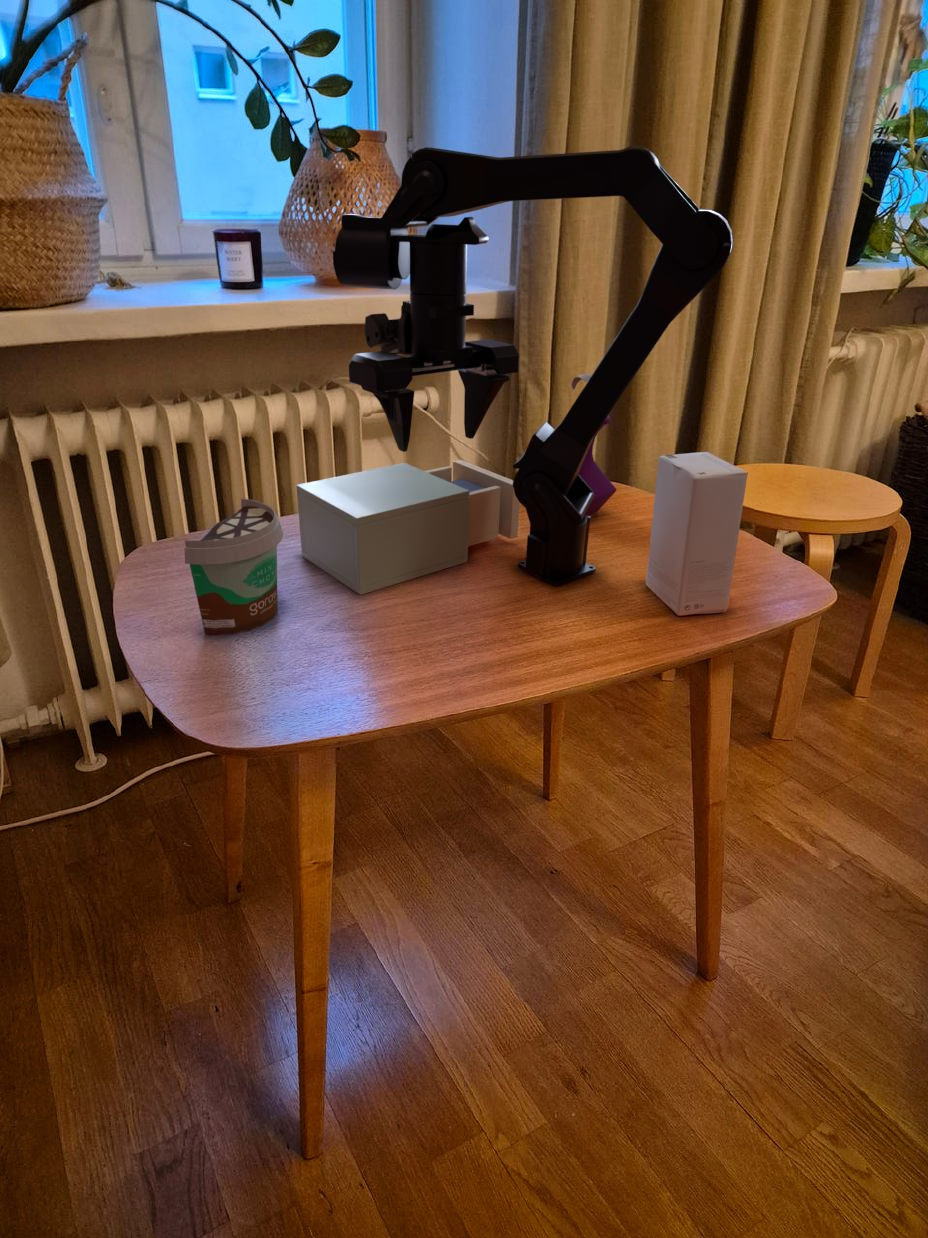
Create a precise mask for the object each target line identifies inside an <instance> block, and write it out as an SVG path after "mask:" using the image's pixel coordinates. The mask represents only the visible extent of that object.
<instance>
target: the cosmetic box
mask: <svg viewBox="0 0 928 1238" xmlns="http://www.w3.org/2000/svg"><path fill="white" fill-rule="evenodd" d="M748 476H749V472H748V471H746V470H744V469H742V468H740V467H738V466H736V465H734V464H731V463H730V462H729V461H726V460H724V459H722V458H720V457H718V456H716V455H714V454H712V453H710V452H709V451H700V452H689V453H677V454H676V453H675V454H666V455H665V454H664V455H660V456H658V462H657V471H656V479H655V480H656V481H655V490H654V500H653V508H652V509H653V511H652V519H651V529H650V530H651V531H650V539H649V550H648V558H647V569H646V577H645V586H646V587H647V588H648V589H650V591H651V592H653V593H654V595H656V596H657V597H658V598H659V599H660V600H661V602H663V603H664V604H665V605H666V606H667V607H668V608H670V610H672V611H673V612H674V613H675V614H676V616H680V617H681V616H688V615H699V614H701V615H702V614H717V613H726V612H727V610H728V607H729V602H730V594H731V587H732V581H733V575H734V568H735V561H736V555H737V549H738V548H737V547H738V542H739V536H740V535H739V534H740V528H741V523H742V521H741V520H742V515H743V507H744V500H745V495H746V494H745V493H746V488H747V480H748Z"/></svg>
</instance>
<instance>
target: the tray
mask: <svg viewBox="0 0 928 1238" xmlns="http://www.w3.org/2000/svg"><path fill="white" fill-rule="evenodd" d="M424 471H425V472H427V473H429V474H432V475H434V476H436V477H439V478H441V479H443V480H445V481H448V482H452V481H456V480H461V479H464V480H466V481H469V482H471V483H474V484H476V485H478V486H481V487H483V488H485V489H481V490H477V491H473V492H469V526H468V547H471V546H474V545H477V544H482V543H483V542H488V541H491V540H495V539H498V538H499V535H501V536H503V537H505V538H507V539H509V540H512V539H516V538H518V536H519V535H518V534H519V519H520V504H521V503H520V502H519V501H518V499H517V497H516V496H515V492H514V488H513V479H511V478H509V477H506V476H503V475H501V474H498V473H495V472H492V471H490V470H488V469H485V468H483V467H480V466H477V465H475V464H472V463H470V462H467V461H465V460H462V459H457V460H453V461H452V466H449V465H445V466H443V467H438V468H433V469H428V470H424Z"/></svg>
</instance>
